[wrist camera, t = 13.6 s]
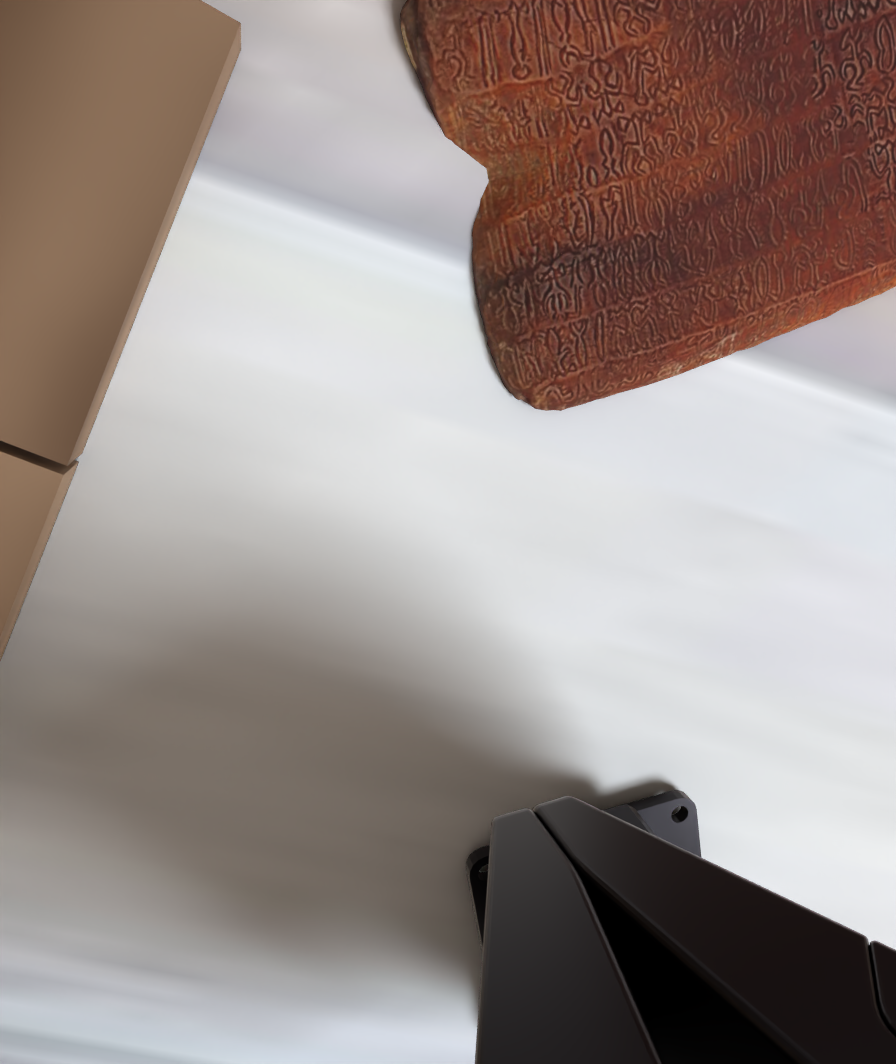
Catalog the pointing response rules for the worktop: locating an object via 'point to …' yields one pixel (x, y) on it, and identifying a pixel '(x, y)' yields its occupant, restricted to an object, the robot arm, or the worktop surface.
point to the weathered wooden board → (85, 222)
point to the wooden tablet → (663, 175)
